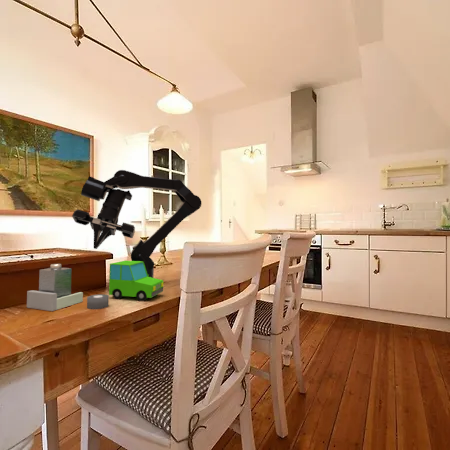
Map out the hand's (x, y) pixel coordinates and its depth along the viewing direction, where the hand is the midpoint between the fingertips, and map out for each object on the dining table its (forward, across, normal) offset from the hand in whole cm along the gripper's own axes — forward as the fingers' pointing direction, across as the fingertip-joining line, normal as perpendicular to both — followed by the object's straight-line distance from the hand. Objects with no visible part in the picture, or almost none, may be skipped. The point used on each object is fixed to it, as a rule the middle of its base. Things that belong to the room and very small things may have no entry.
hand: (94, 248), depth 86 cm
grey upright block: (+19, +2, +7) cm, 20 cm away
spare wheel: (+17, -8, +11) cm, 22 cm away
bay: (+18, +2, +7) cm, 19 cm away
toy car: (+12, -17, +4) cm, 21 cm away
